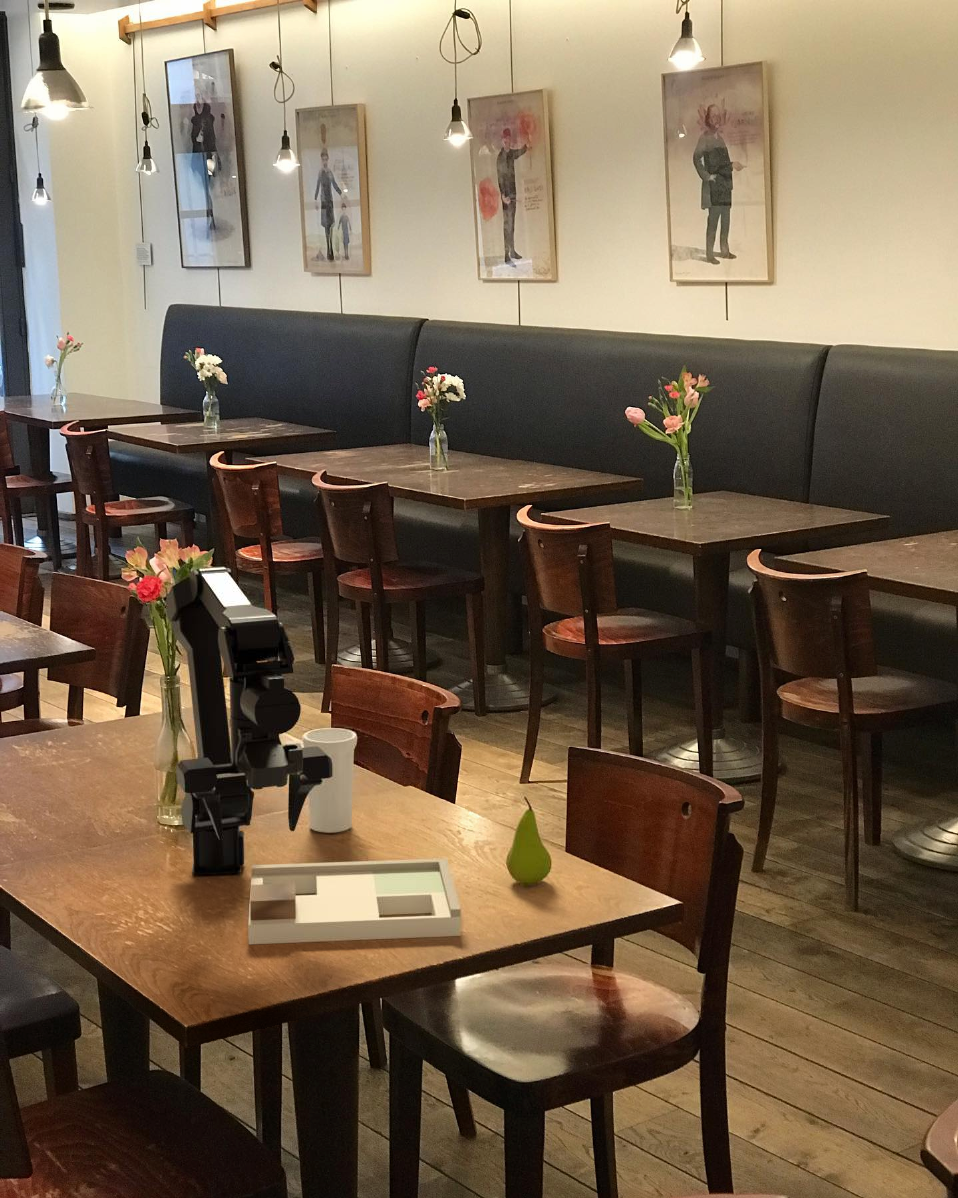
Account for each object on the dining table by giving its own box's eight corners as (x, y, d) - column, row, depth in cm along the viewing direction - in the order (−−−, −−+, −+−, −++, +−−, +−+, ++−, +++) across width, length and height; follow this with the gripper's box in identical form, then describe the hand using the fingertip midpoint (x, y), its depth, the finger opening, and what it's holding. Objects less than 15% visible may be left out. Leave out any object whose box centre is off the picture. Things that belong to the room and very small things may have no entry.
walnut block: (250, 920, 196) (250, 901, 196) (251, 903, 202) (251, 884, 201) (295, 918, 197) (295, 899, 196) (295, 902, 202) (295, 883, 202)
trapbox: (248, 944, 195) (248, 917, 195) (252, 890, 213) (251, 865, 212) (460, 936, 198) (460, 909, 197) (446, 883, 216) (446, 858, 215)
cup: (293, 833, 235) (292, 739, 232) (319, 816, 243) (318, 725, 240) (342, 840, 232) (341, 745, 230) (367, 823, 240) (366, 731, 237)
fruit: (548, 893, 212) (549, 807, 210) (502, 890, 213) (502, 804, 211) (554, 876, 219) (555, 792, 216) (509, 873, 220) (510, 789, 217)
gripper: (192, 738, 188) (196, 865, 191) (344, 723, 195) (346, 846, 198) (173, 715, 198) (177, 836, 201) (319, 702, 205) (321, 819, 208)
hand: (256, 834), depth 202 cm, fingers open, 9 cm apart
